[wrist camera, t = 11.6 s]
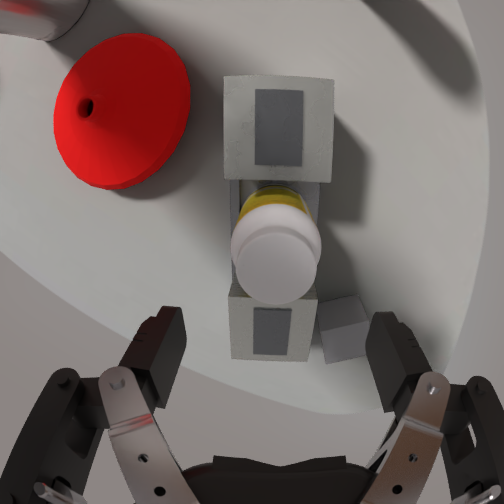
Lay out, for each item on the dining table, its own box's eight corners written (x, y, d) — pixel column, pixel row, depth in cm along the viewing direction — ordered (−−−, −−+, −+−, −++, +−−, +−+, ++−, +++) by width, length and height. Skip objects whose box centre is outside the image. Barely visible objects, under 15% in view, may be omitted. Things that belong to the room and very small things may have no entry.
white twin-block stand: (232, 88, 22) (215, 69, 15) (321, 90, 21) (342, 73, 14) (236, 313, 32) (226, 363, 24) (305, 316, 31) (311, 366, 24)
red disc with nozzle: (168, 204, 27) (138, 228, 21) (58, 161, 25) (17, 173, 19) (225, 57, 21) (209, 33, 14) (98, 35, 19) (60, 20, 13)
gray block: (314, 303, 30) (320, 331, 26) (357, 293, 30) (368, 320, 25) (320, 335, 32) (325, 364, 28) (359, 326, 31) (369, 354, 27)
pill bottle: (228, 214, 26) (199, 268, 16) (276, 168, 24) (278, 194, 14) (273, 257, 28) (272, 330, 17) (321, 217, 25) (350, 273, 15)
